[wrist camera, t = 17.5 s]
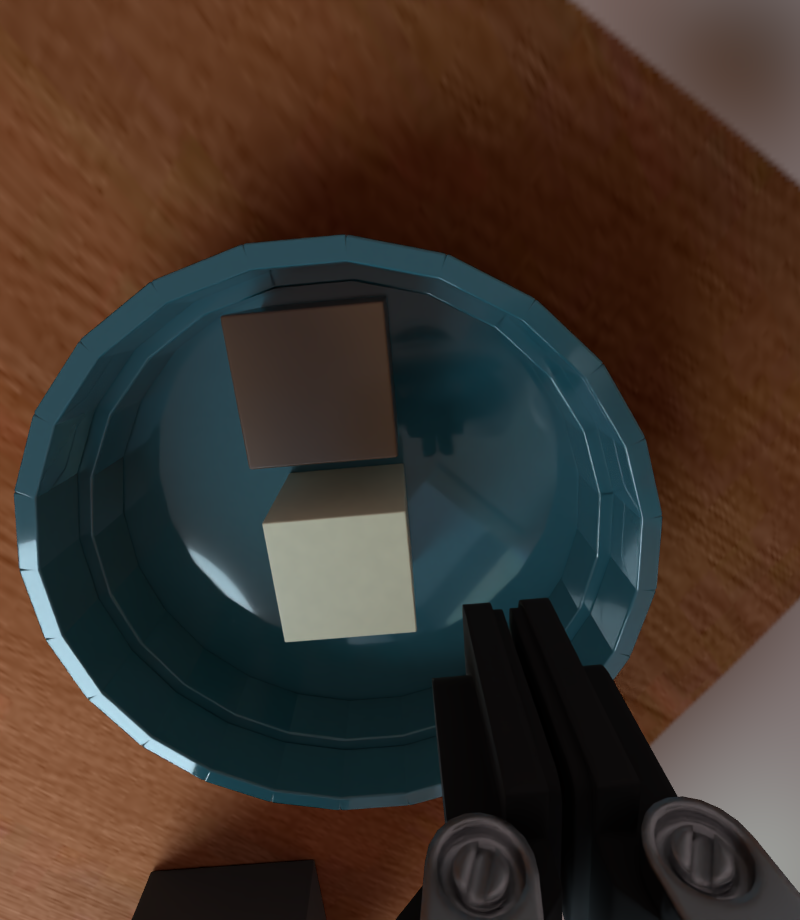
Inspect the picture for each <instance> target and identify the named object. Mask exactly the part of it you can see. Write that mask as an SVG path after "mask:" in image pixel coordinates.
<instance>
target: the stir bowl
mask: <svg viewBox="0 0 800 920" xmlns="http://www.w3.org/2000/svg"><path fill="white" fill-rule="evenodd" d="M381 296H385V297H386V299H387V310H388V321H389V332H390V343H391V354H392V365H393V376H394V387H395V398H396V409H397V427H398V456H397V457H392V458H381V459H369V460H357V461H345V462H334V463H322V464H310V465H299V466H287V467H275V468H263V469H250V468H249V465H248V460H247V454H246V449H245V444H244V439H243V434H242V428H241V423H240V418H239V413H238V408H237V402H236V397H235V392H234V387H233V382H232V376H231V371H230V366H229V361H228V356H227V351H226V345H225V340H224V335H223V330H222V325H221V319H220V318H221V316H222V315H226V314H231V313H236V312H241V311H246V310H251V309H256V308H260V307H271V306H282V305H293V304H304V303H315V302H326V301H337V300H348V299H359V298H370V297H381ZM390 464H403V465H404V475H405V486H406V497H407V508H408V519H409V530H410V541H411V553H412V564H413V579H414V594H415V610H416V625H417V631H416V632H408V633H396V634H383V635H370V636H358V637H345V638H333V639H320V640H308V641H295V642H285V640H284V635H283V630H282V624H281V619H280V614H279V609H278V603H277V598H276V593H275V588H274V583H273V577H272V572H271V567H270V562H269V556H268V551H267V546H266V541H265V536H264V530H263V525H262V523H263V521H264V519H265V517H266V516H267V514H268V512H269V510H270V508H271V506H272V505H273V503H274V501H275V499H276V497H277V495H278V494H279V492H280V490H281V488H282V486H283V484H284V482H285V481H286V479H287V477H288V475H289V473H297V472H308V471H320V470H332V469H343V468H355V467H367V466H378V465H390ZM14 503H15V518H16V532H17V547H18V562H19V569H20V573H21V576H22V579H23V581H24V584H25V587H26V589H27V592H28V595H29V597H30V600H31V603H32V606H33V608H34V611H35V614H36V616H37V619H38V622H39V624H40V627H41V630H42V632H43V635H44V638H45V639H46V641H47V643H48V644H49V646H50V647H51V648H52V650H53V651H54V653H55V654H56V655H57V657H58V658H59V660H60V661H61V663H62V664H63V665H64V667H65V668H66V670H67V671H68V672H69V674H70V675H71V677H72V678H73V680H74V681H75V682H76V684H77V685H78V687H79V688H80V689H81V691H82V692H83V694H84V695H85V696H86V698H89V700H90V701H91V702H92V703H93V704H94V705H95V706H96V707H97V708H99V709H100V710H101V711H102V712H103V713H104V714H105V715H107V716H108V717H109V718H110V719H111V720H112V721H113V722H115V723H116V724H117V725H118V726H119V727H120V728H121V729H122V730H124V731H125V732H126V733H127V734H128V735H129V736H130V737H132V738H133V739H134V740H135V741H136V742H137V743H138V744H140V745H143V747H144V748H146V749H147V750H149V751H151V752H153V753H155V754H156V755H158V756H160V757H162V758H164V759H165V760H167V761H169V762H171V763H173V764H174V765H176V766H178V767H180V768H181V769H183V770H185V771H187V772H189V773H190V774H192V775H194V776H196V777H198V778H199V779H201V780H204V779H205V781H206V782H209V783H212V784H215V785H218V786H221V787H225V788H228V789H231V790H234V791H237V792H240V793H243V794H247V795H250V796H253V797H256V798H259V799H262V800H265V801H268V802H270V801H271V800H272V802H273V803H281V804H290V805H298V806H307V807H315V808H324V809H332V810H340V809H341V810H353V809H366V808H380V807H394V806H407V805H414V804H417V803H421V802H425V801H428V800H432V799H435V798H439V797H442V787H441V777H440V767H439V757H438V747H437V736H436V725H435V714H434V702H433V689H432V678H440V677H452V676H464V675H466V669H465V651H464V633H463V615H462V605H463V604H475V603H487V602H490V603H491V605H492V608H493V610H494V609H502V610H503V613H504V615H505V618H506V621H507V624H508V627H509V610H510V608H518V603H519V600H523V599H535V598H549V600H550V601H551V603H552V605H553V607H554V609H555V611H556V613H557V615H558V617H559V619H560V621H561V623H562V625H563V627H564V629H565V631H566V633H567V635H568V637H569V639H570V641H571V643H572V645H573V647H574V649H575V651H576V653H577V655H578V657H579V659H580V662H581V664H582V666H586V665H598V664H601V665H603V666H604V667H605V668H606V669H607V671H608V672H609V674H610V676H611V677H612V679H613V680H614V678H615V677H616V676H617V674H618V673H619V672H620V670H621V669H622V667H623V666H624V665H625V663H626V662H627V661H628V659H629V658H630V655H631V653H632V651H633V648H634V646H635V643H636V640H637V638H638V635H639V633H640V630H641V628H642V625H643V622H644V620H645V617H646V615H647V612H648V610H649V607H650V604H651V602H652V599H653V597H654V594H655V589H656V588H657V576H658V564H659V552H660V541H661V529H662V511H661V506H660V501H659V497H658V492H657V488H656V483H655V478H654V474H653V469H652V464H651V460H650V455H649V451H648V446H647V441H646V439H645V436H644V434H643V432H642V430H641V428H640V427H639V425H638V423H637V421H636V420H635V418H634V416H633V414H632V413H631V411H630V409H629V407H628V405H627V404H626V402H625V400H624V398H623V397H622V395H621V393H620V391H619V390H618V388H617V386H616V384H615V382H614V381H613V379H612V377H611V375H610V374H609V372H608V370H607V368H606V367H605V365H604V364H602V361H601V360H600V359H599V358H598V357H597V356H596V355H595V354H594V353H593V352H592V351H591V350H590V349H589V348H587V347H586V346H585V345H584V344H583V343H582V342H581V341H580V340H579V339H578V338H577V337H576V336H575V335H574V334H573V333H572V332H571V331H570V330H568V329H567V328H566V327H565V326H564V325H563V324H562V323H561V322H560V321H559V320H558V319H557V318H556V317H555V316H554V315H553V314H552V313H551V312H550V311H548V310H547V309H546V308H545V307H544V306H543V305H542V304H541V303H540V302H539V301H538V300H535V298H534V297H532V296H530V295H528V294H526V293H524V292H522V291H520V290H518V289H516V288H514V287H512V286H510V285H508V284H506V283H504V282H502V281H501V280H499V279H497V278H495V277H493V276H491V275H489V274H487V273H485V272H483V271H481V270H479V269H477V268H475V267H473V266H471V265H469V264H467V263H465V262H463V261H461V260H459V259H457V258H455V257H453V256H451V255H450V254H447V255H446V254H445V253H443V252H437V251H432V250H427V249H422V248H417V247H411V246H406V245H401V244H396V243H390V242H385V241H380V240H375V239H370V238H364V237H359V236H354V235H347V236H346V235H345V234H339V235H329V236H318V237H307V238H297V239H286V240H275V241H265V242H254V243H245V244H244V245H243V244H241V245H238V246H236V247H234V248H231V249H229V250H226V251H224V252H221V253H219V254H216V255H214V256H211V257H209V258H206V259H204V260H201V261H199V262H197V263H194V264H192V265H189V266H187V267H184V268H182V269H179V270H177V271H174V272H172V273H169V274H167V275H164V276H162V277H160V278H157V279H155V280H153V281H152V282H149V283H148V284H147V285H146V286H145V287H143V288H142V289H141V290H140V291H138V292H137V293H136V294H135V295H134V296H132V297H131V298H130V299H129V300H128V301H126V302H125V303H124V304H123V305H121V306H120V307H119V308H118V309H117V310H115V311H114V312H113V313H112V314H111V315H109V316H108V317H107V318H106V319H105V320H103V321H102V322H101V323H100V324H98V325H97V326H96V327H95V328H94V329H92V330H91V331H90V332H89V333H88V334H86V335H85V336H84V337H83V338H82V339H81V340H80V342H78V344H77V345H76V347H75V349H74V350H73V352H72V353H71V355H70V357H69V358H68V360H67V361H66V363H65V364H64V366H63V368H62V369H61V371H60V372H59V374H58V376H57V377H56V379H55V380H54V382H53V383H52V385H51V387H50V388H49V390H48V391H47V393H46V395H45V396H44V398H43V399H42V401H41V402H40V404H39V406H38V407H37V409H36V410H35V414H34V415H33V418H32V422H31V426H30V430H29V434H28V438H27V442H26V446H25V450H24V454H23V458H22V462H21V466H20V470H19V475H18V479H17V483H16V487H15V493H14Z"/></svg>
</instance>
